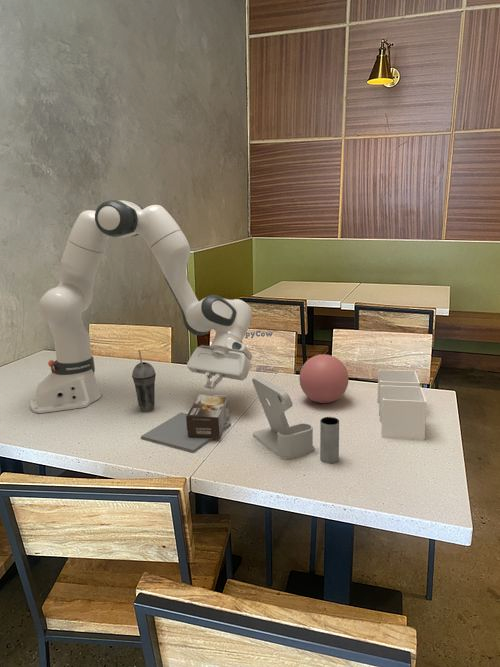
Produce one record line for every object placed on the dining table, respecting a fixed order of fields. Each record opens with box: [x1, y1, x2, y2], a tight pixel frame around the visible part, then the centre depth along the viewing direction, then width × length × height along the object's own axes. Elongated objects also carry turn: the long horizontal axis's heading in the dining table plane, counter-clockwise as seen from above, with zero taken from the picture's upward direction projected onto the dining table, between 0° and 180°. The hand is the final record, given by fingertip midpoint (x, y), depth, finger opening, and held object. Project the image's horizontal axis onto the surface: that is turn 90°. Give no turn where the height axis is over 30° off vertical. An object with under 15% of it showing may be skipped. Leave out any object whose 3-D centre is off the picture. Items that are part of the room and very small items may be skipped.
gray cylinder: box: [319, 416, 340, 464], centre depth 120 cm, size 4×4×10 cm
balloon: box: [298, 353, 349, 404], centre depth 158 cm, size 15×20×15 cm
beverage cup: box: [131, 349, 157, 413], centre depth 153 cm, size 7×7×20 cm
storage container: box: [376, 369, 427, 441], centre depth 142 cm, size 25×11×11 cm, turn 168°
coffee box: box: [186, 394, 230, 439], centre depth 140 cm, size 9×6×16 cm
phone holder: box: [251, 375, 315, 461], centre depth 129 cm, size 17×10×18 cm, turn 29°
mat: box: [140, 412, 232, 454], centre depth 139 cm, size 18×18×1 cm
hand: (208, 387), depth 146 cm, fingers closed
